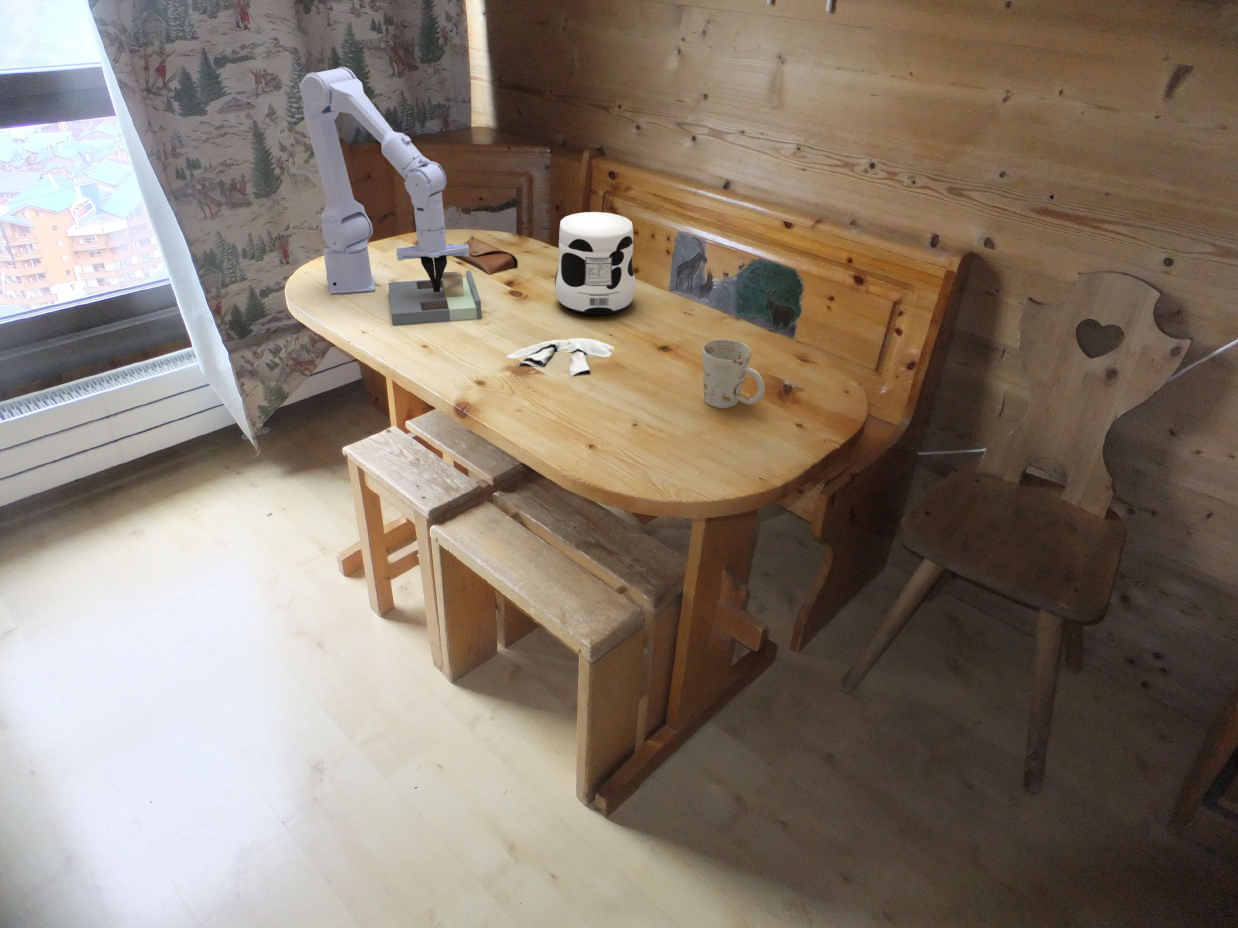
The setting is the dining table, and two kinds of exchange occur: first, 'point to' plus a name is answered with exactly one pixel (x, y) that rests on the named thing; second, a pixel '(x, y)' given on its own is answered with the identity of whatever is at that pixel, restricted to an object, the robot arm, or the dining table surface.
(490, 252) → the sunglasses case
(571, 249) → the milk container
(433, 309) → the trap board
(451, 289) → the beech block
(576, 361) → the cloth
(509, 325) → the dining table surface
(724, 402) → the mug
